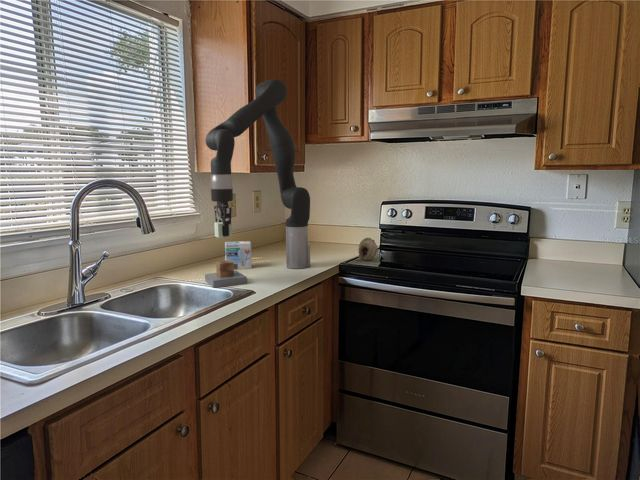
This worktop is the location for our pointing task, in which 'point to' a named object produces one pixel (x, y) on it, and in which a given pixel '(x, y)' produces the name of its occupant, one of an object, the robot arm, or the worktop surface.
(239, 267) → the light bulb box
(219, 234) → the green block
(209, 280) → the slate base
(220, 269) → the walnut block
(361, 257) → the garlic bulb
